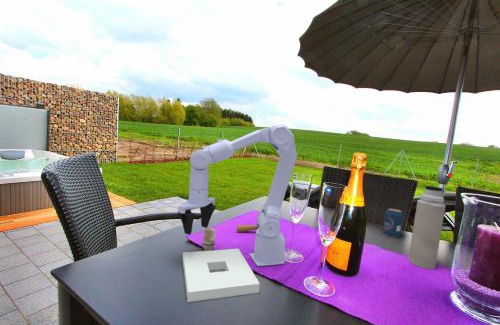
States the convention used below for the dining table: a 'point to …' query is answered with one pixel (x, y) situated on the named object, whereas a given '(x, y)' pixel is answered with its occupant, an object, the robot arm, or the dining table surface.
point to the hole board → (217, 275)
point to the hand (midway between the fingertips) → (196, 230)
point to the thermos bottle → (427, 228)
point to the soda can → (393, 222)
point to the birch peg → (208, 239)
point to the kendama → (247, 227)
